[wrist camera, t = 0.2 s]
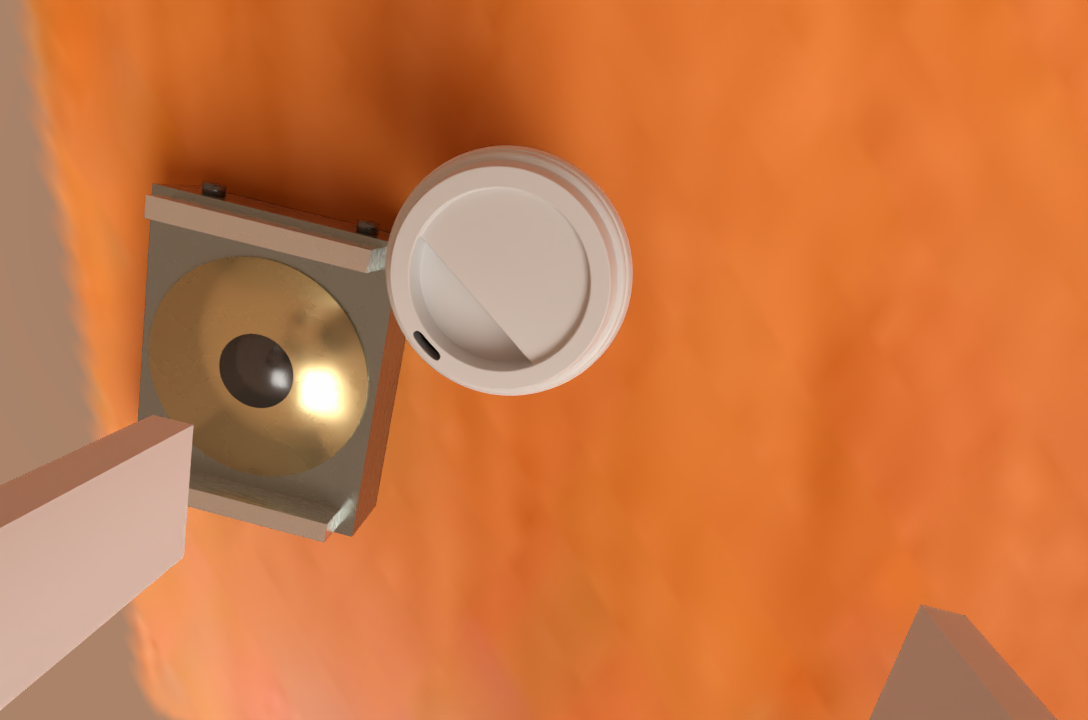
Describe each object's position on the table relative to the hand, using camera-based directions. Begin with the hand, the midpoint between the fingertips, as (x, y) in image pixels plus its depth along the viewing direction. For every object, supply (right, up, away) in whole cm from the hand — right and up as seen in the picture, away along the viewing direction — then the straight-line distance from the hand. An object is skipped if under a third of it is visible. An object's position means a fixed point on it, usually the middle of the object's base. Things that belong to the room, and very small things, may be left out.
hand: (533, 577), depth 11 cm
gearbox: (-16, +4, +28) cm, 33 cm away
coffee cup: (0, +10, +25) cm, 27 cm away
